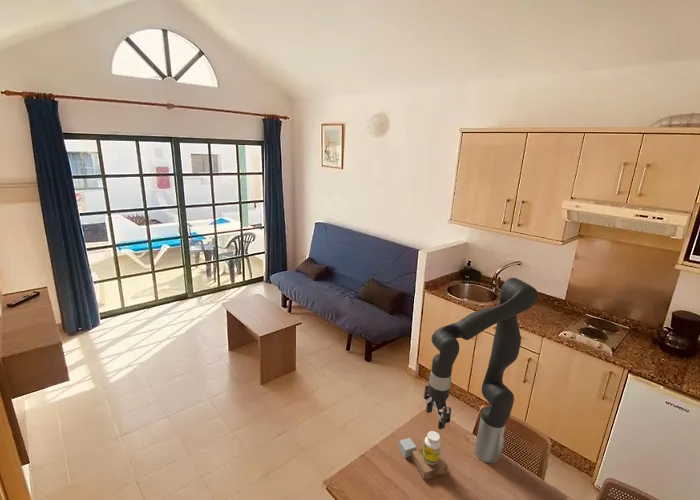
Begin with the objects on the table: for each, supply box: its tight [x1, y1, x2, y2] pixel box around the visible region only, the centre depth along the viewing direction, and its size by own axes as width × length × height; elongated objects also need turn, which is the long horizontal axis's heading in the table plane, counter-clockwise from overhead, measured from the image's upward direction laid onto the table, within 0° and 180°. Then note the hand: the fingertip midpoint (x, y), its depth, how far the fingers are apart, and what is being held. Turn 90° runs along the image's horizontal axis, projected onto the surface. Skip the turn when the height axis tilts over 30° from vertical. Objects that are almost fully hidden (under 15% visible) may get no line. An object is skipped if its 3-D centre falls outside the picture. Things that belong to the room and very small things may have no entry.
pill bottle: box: [422, 430, 442, 465], centre depth 139 cm, size 6×6×11 cm
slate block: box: [398, 437, 417, 459], centre depth 147 cm, size 5×5×4 cm
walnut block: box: [410, 448, 448, 480], centre depth 141 cm, size 10×10×4 cm
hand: (434, 419), depth 135 cm, fingers open, 8 cm apart
